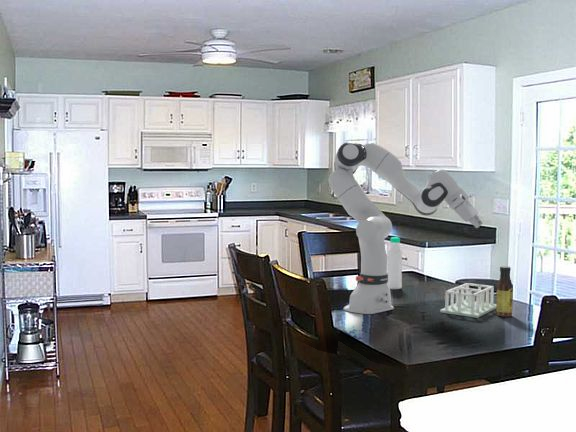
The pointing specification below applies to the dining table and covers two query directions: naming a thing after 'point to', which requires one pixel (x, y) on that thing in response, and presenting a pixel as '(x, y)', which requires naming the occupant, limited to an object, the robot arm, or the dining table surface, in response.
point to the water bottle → (394, 264)
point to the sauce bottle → (504, 293)
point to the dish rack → (469, 301)
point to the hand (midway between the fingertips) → (479, 225)
